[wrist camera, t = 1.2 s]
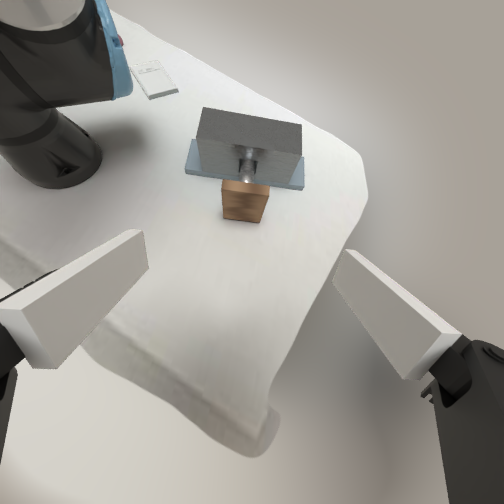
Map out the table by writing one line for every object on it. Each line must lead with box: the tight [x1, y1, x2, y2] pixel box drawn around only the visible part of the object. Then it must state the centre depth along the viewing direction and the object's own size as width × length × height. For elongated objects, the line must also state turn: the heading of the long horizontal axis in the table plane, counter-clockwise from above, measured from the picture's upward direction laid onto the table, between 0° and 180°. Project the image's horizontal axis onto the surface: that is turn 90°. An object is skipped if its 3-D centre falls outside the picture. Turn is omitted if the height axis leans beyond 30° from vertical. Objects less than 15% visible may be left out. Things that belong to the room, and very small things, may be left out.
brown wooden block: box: [221, 159, 270, 223], centre depth 36 cm, size 8×12×10 cm
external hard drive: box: [130, 60, 179, 100], centre depth 49 cm, size 2×8×12 cm
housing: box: [185, 107, 304, 190], centre depth 39 cm, size 28×9×10 cm, turn 86°
